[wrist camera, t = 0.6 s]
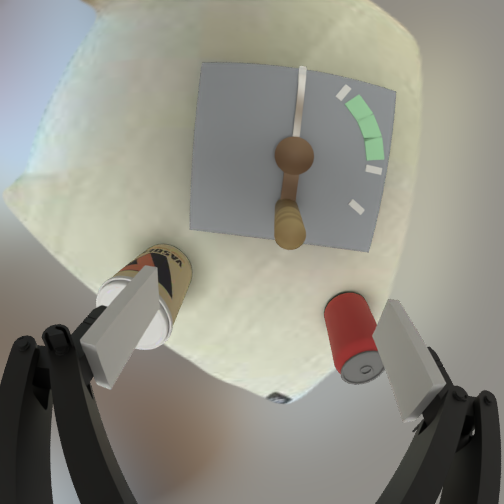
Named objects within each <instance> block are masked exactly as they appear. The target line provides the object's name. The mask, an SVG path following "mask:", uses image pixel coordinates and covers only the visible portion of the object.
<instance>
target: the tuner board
mask: <svg viewBox="0 0 504 504" xmlns="http://www.w3.org/2000/svg"><path fill="white" fill-rule="evenodd" d="M299 74H302V75H306V84H305V94H304V103H303V112H302V121H301V130H300V138H302V139H304V140H306V141H307V142H308V143H309V144H310V145H311V147H312V149H313V152H314V161H313V164H312V166H311V167H310V168H309V170H307V171H306V172H305V173H302V174H299V180H298V187H297V194H296V203H297V205H298V208H299V211H300V214H301V217H302V220H303V224H304V227H305V230H306V239H305V241H304V243H303V244H310V245H318V246H325V247H333V248H340V249H348V250H355V251H362V252H369V249H370V246H371V242H372V238H373V234H374V230H375V226H376V221H377V217H378V213H379V208H380V203H381V199H382V194H383V189H384V183H385V178H386V172H387V166H388V160H389V154H390V147H391V139H392V131H393V123H394V113H395V101H396V91H393V90H390V89H386V88H383V87H380V86H377V85H373V84H370V83H366V82H362V81H359V80H355V79H351V78H346V77H342V76H337V75H333V74H328V73H323V72H317V71H312V70H307V67H305V66H299V68H292V67H284V66H275V65H264V64H250V63H221V62H211V63H202V67H201V75H200V83H199V91H198V101H197V110H196V121H195V133H194V145H193V160H192V177H191V199H190V230H197V231H205V232H214V233H222V234H231V235H239V236H247V237H255V238H264V239H272V240H275V238H274V217H275V204H276V202H277V201H278V200H279V199H280V198H281V190H282V182H283V174H284V172H283V171H282V170H281V169H280V168H279V167H278V165H277V164H276V161H275V149H276V147H277V145H278V144H279V142H281V141H282V140H283V139H285V138H288V137H293V128H294V119H295V110H296V101H297V91H298V82H299Z"/></svg>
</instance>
